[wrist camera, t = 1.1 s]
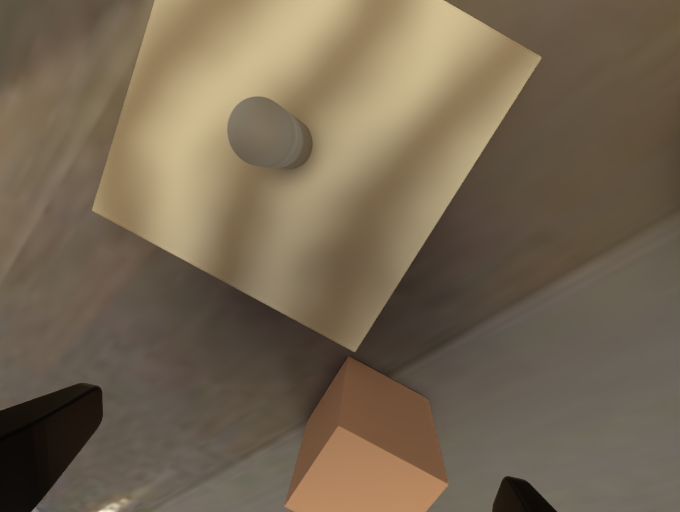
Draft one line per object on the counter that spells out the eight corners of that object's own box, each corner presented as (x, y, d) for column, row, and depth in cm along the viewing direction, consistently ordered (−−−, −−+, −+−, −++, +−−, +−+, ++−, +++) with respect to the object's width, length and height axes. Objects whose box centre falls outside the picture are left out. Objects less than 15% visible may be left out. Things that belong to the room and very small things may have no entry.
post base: (531, 64, 16) (611, 7, 10) (355, 344, 20) (349, 402, 15) (208, -123, 15) (120, -282, 10) (105, 208, 20) (8, 220, 15)
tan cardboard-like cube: (428, 398, 21) (448, 484, 15) (382, 460, 22) (384, 558, 17) (348, 355, 21) (338, 425, 15) (307, 420, 22) (284, 506, 17)
